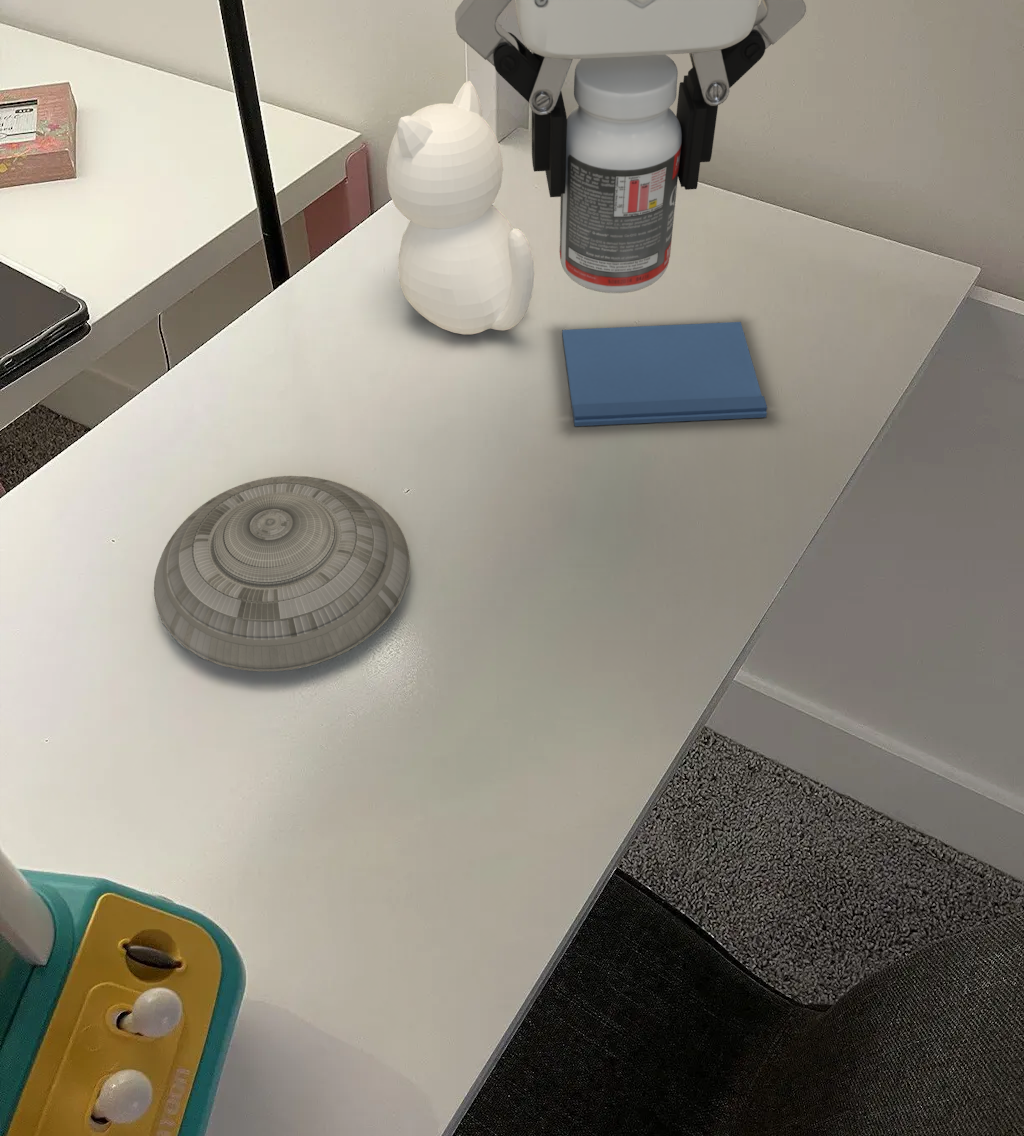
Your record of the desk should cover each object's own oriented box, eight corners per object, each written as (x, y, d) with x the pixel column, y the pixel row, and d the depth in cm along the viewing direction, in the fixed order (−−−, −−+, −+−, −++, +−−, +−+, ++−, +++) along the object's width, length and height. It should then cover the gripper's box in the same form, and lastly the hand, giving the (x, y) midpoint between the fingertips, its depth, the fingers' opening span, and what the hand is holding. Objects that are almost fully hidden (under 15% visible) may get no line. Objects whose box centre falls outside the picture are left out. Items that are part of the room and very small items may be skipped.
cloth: (739, 326, 82) (741, 318, 82) (766, 417, 76) (767, 409, 76) (562, 334, 82) (562, 325, 81) (574, 426, 76) (574, 418, 75)
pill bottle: (688, 282, 58) (713, 84, 50) (587, 309, 57) (597, 111, 49) (637, 224, 61) (654, 30, 53) (541, 249, 60) (543, 54, 52)
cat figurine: (452, 253, 88) (440, 53, 76) (574, 318, 83) (582, 115, 71) (368, 306, 84) (341, 104, 72) (492, 378, 79) (485, 174, 67)
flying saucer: (325, 724, 62) (310, 663, 57) (108, 630, 66) (78, 566, 61) (456, 544, 70) (451, 478, 65) (254, 470, 74) (237, 403, 69)
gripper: (413, -258, 38) (446, 232, 53) (916, -280, 39) (811, 211, 53) (408, -320, 42) (440, 148, 57) (859, -338, 43) (776, 129, 58)
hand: (619, 174), depth 55 cm, fingers closed on pill bottle, 5 cm apart
